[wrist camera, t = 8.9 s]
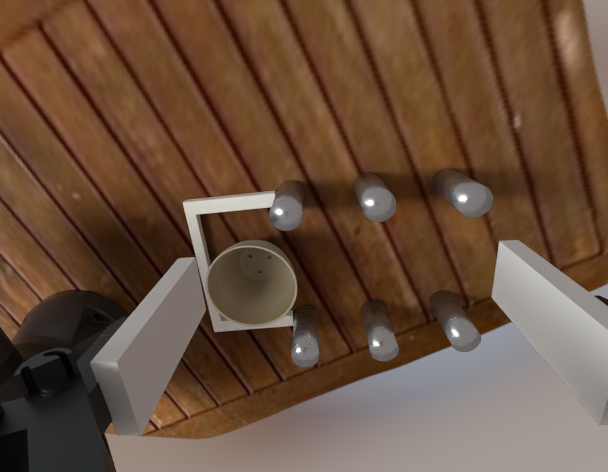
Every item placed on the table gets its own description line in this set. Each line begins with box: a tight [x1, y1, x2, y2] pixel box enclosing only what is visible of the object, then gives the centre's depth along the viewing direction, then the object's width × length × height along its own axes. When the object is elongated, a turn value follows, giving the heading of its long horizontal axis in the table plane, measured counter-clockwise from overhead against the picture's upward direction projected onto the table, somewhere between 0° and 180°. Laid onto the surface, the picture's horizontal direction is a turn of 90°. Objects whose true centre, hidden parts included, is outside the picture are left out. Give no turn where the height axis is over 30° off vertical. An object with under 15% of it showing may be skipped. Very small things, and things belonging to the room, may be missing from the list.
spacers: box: [269, 168, 493, 367], centre depth 41 cm, size 21×20×8 cm
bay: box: [183, 191, 294, 332], centre depth 45 cm, size 11×18×1 cm, turn 6°
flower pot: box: [206, 240, 297, 327], centre depth 42 cm, size 10×10×7 cm
